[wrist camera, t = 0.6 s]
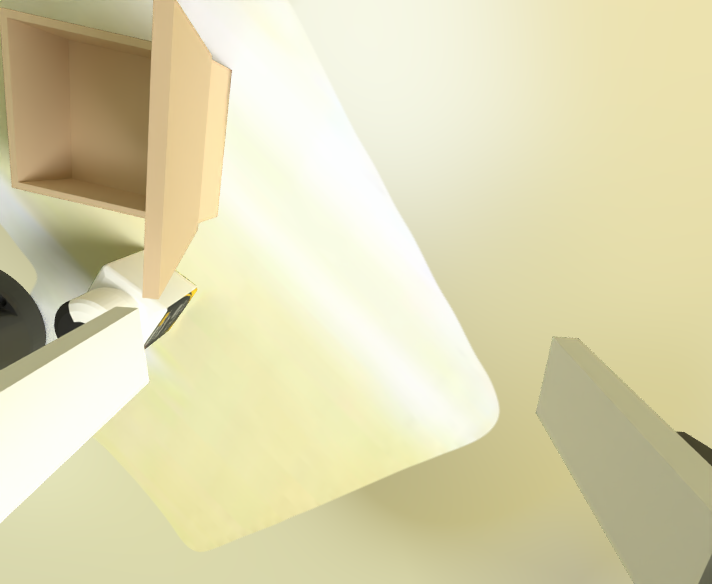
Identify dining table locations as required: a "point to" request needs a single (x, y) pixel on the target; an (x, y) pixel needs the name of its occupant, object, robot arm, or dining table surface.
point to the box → (91, 114)
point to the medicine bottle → (127, 299)
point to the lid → (174, 142)
